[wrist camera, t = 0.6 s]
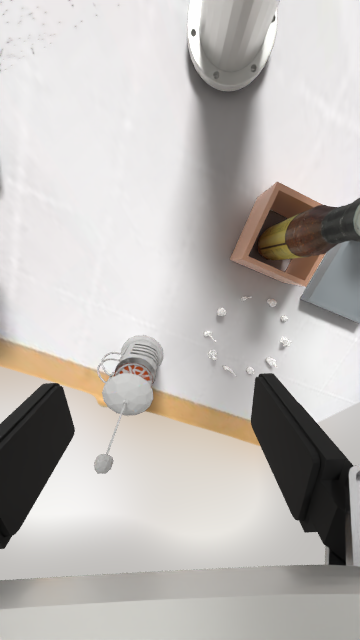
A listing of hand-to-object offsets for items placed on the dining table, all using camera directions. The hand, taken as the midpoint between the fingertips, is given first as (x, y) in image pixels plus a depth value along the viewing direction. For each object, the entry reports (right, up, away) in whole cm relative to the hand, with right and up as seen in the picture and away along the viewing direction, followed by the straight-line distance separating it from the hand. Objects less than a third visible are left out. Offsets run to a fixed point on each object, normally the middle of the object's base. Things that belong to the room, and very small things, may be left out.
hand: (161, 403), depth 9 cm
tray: (+37, +13, +30) cm, 49 cm away
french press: (-9, -4, +34) cm, 35 cm away
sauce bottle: (+19, +19, +27) cm, 38 cm away
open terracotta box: (+19, +19, +27) cm, 38 cm away
